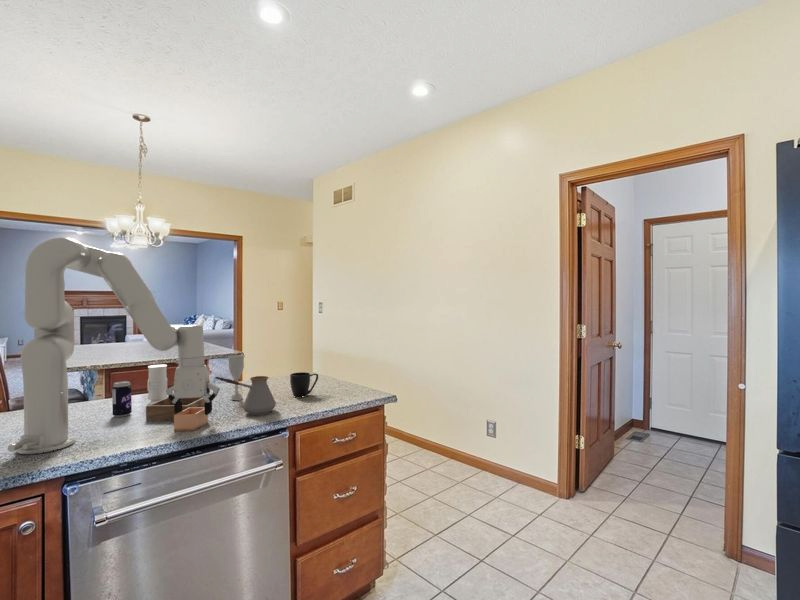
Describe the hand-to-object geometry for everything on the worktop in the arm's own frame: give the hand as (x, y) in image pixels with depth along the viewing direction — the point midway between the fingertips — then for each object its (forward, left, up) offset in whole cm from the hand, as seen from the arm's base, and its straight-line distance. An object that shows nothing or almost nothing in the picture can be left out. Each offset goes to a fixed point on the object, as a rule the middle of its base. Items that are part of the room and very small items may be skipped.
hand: (193, 414), depth 134 cm
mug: (+42, -26, -4) cm, 50 cm away
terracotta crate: (0, +1, -4) cm, 4 cm away
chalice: (+36, +1, -4) cm, 36 cm away
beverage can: (+13, +33, -4) cm, 35 cm away
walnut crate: (+14, +13, -4) cm, 19 cm away
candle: (+31, +31, -4) cm, 44 cm away
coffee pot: (+13, -12, -4) cm, 18 cm away
